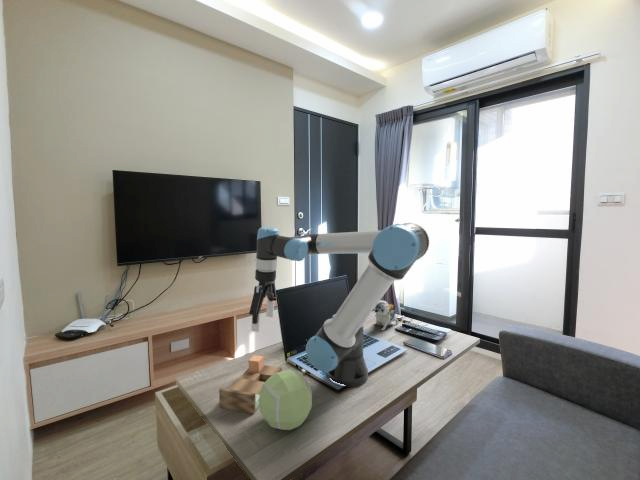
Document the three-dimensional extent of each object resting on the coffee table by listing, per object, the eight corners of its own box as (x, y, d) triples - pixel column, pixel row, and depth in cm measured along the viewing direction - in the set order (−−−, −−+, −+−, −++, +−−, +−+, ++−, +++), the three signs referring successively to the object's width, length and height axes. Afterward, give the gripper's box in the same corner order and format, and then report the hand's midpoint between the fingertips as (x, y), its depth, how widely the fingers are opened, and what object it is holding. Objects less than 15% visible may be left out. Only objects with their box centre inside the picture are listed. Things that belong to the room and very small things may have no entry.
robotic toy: (365, 328, 159) (365, 300, 157) (383, 319, 171) (384, 293, 170) (386, 335, 150) (386, 305, 148) (404, 325, 162) (404, 298, 161)
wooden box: (282, 375, 115) (281, 359, 115) (254, 413, 94) (253, 395, 93) (253, 371, 118) (252, 356, 118) (219, 407, 97) (219, 389, 96)
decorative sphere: (274, 451, 79) (272, 396, 78) (252, 418, 92) (250, 371, 90) (322, 427, 88) (321, 378, 86) (296, 400, 100) (295, 356, 98)
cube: (263, 366, 116) (263, 356, 116) (258, 372, 112) (258, 361, 112) (254, 365, 117) (253, 355, 117) (249, 370, 113) (248, 360, 113)
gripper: (269, 261, 126) (266, 309, 129) (240, 276, 102) (238, 336, 105) (286, 263, 124) (283, 312, 128) (261, 279, 100) (258, 340, 104)
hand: (262, 323), depth 116 cm, fingers open, 13 cm apart
